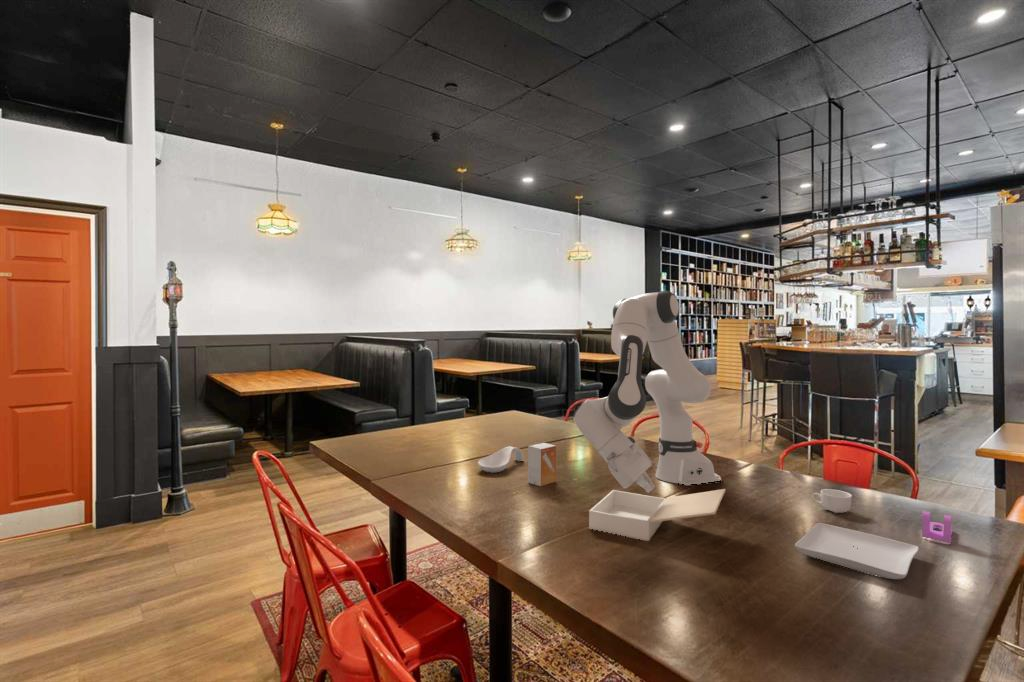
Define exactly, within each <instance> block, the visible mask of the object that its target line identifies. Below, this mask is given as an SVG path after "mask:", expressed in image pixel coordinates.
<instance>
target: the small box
mask: <svg viewBox="0 0 1024 682" xmlns="http://www.w3.org/2000/svg"><path fill="white" fill-rule="evenodd" d="M527 453H528V455H527V461H528V462H527V465H528V467H527V469H528V470H527V483H528V484H531V485H534V484H535V485H534V486H538V487H543V486H546V485H549V484H553V483H556V482H557V481H556V480H557V477H556V476H557V445H554V444H550V443H548V442H547V443H546V442H541V443H536V444H531V445H528V450H527Z"/></svg>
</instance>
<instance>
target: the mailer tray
mask: <svg viewBox="0 0 1024 682" xmlns="http://www.w3.org/2000/svg"><path fill="white" fill-rule="evenodd" d="M666 499H667V498H665V497H664V498H663V497H660V496H653V495H645V494H640V493H634V492H628V491H621V490H615V489H612V490H611V491H610V492H608V494H607V495H605V496H604V497H602V499H601V500H600V501H599V502H597V503H596V504H595V505H594V506H592V507H591V509H589V510H588V525H589V526H588V529H589V530H592V529H593V530H592V531H596V530H598V531H597V532H601V531H603V532H602V533H606V532H608V533H607V534H611V533H612V534H611V535H615V534H617V535H616V536H620V535H621V536H620V537H625V536H626V537H625V538H629V539H630V538H631V539H634V540H639V539H640V540H641V541H645V542H650V541H651V539H652V537H653V536H654V534H656V532H657V530H658V529H659V528H660V526H661V525H662V523H663V522H664V521H659V522H650V520H651V519H652V517H653V516H654V515H655V513H656V512H657V511H658V510H659V508H660V507H661V506H662V504H663V503H664V502H665V501H666Z"/></svg>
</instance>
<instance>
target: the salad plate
mask: <svg viewBox="0 0 1024 682" xmlns="http://www.w3.org/2000/svg"><path fill="white" fill-rule="evenodd" d="M794 546H795V548H796V549H797V550H798V551H799V552H801V553H802V554H804V555H806V556H808V557H811V558H814V559H816V558H817V559H816V560H818V559H821V560H824V561H828V562H831V563H835V564H838V565H841V566H845V567H848V568H852V569H856V570H859V571H863V572H866V573H869V574H873V575H877V576H880V577H879V578H881V577H885V578H884V579H888V580H902V579H905V578H906V577H907V575H908V573H909V571H910V566H911V564H912V561H913V559H914V558H915V556H916V555H917V554H918V552H919V550H920V547H919V546H917V545H915V544H910V543H908V542H902V541H899V540H895V539H891V538H888V537H884V536H880V535H876V534H872V533H867V532H863V531H859V530H854V529H852V528H851V529H850V528H846V527H841V526H836V525H833V524H832V525H831V524H827V523H825V522H823V523H822V522H816V524H814V525H813V527H811V528H810V530H808V531H807V532H806V533H805V534H804V535H803V536H802V537H801V538H800V539H799V540H798V541H796V542H795V544H794ZM853 546H854V547H853ZM857 548H858V549H857ZM821 560H820V561H821ZM824 561H823V562H824ZM831 563H830V564H831ZM838 565H837V566H838ZM841 566H840V567H841ZM845 567H844V568H845ZM848 568H847V569H848ZM852 569H851V570H852ZM859 571H858V572H859ZM866 573H865V574H866ZM869 574H868V575H869ZM873 575H872V576H873ZM877 576H876V577H877Z"/></svg>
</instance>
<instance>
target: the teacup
mask: <svg viewBox="0 0 1024 682" xmlns="http://www.w3.org/2000/svg"><path fill="white" fill-rule="evenodd" d="M814 496H818V498H819V499H820V501H819V500H817V499H815V498H814ZM852 498H853V495H852V493H850V492H847V491H843V490H840V489H839V490H838V489H832V488H824V489H823V488H822V489H821V490H820V493H818V492H814V493H813V494H812V495H811V499H812V500H813V501H814V502H815V503H817V504H820V505H822V507H823V508H824V510H826V509H827V510H830V511H834V512H846V513H848V512H849V511H850V509H851V506H852ZM827 510H826V511H827ZM847 511H848V512H847Z"/></svg>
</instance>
